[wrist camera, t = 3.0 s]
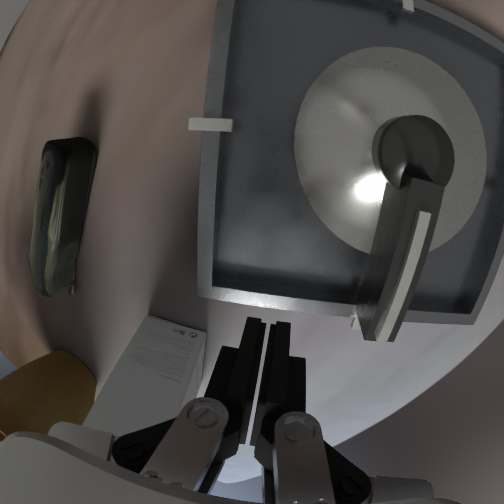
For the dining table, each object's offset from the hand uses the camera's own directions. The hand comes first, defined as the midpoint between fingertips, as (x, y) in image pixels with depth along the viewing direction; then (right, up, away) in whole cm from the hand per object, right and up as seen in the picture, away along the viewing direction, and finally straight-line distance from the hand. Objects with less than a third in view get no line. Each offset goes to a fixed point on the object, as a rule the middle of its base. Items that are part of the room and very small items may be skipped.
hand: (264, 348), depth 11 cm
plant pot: (-24, -12, +19) cm, 33 cm away
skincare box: (-8, -6, +15) cm, 17 cm away
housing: (+8, +10, +5) cm, 14 cm away
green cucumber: (-16, +7, +10) cm, 20 cm away
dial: (+8, +8, +4) cm, 12 cm away
